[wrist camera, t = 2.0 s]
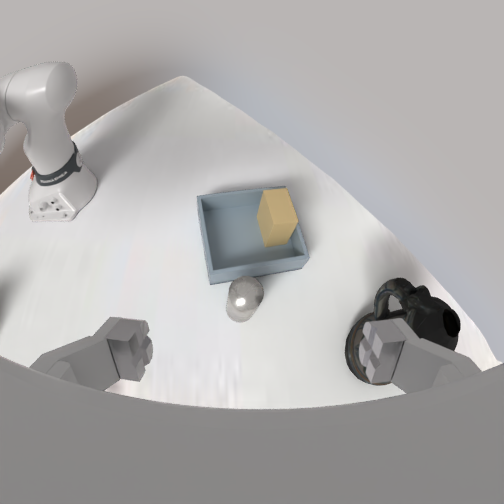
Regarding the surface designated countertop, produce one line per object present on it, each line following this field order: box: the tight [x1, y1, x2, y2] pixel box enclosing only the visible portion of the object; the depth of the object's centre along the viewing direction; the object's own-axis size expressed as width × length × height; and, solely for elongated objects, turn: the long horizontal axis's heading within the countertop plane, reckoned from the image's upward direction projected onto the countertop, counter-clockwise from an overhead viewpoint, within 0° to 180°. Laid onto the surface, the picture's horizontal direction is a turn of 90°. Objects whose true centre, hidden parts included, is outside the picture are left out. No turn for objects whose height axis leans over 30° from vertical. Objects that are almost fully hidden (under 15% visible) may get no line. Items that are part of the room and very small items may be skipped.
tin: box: [226, 276, 264, 322], centre depth 50 cm, size 6×6×12 cm
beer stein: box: [345, 278, 460, 386], centre depth 44 cm, size 16×19×25 cm
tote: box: [197, 186, 310, 285], centre depth 59 cm, size 20×18×6 cm
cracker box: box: [257, 188, 299, 247], centre depth 58 cm, size 5×8×10 cm, turn 13°
